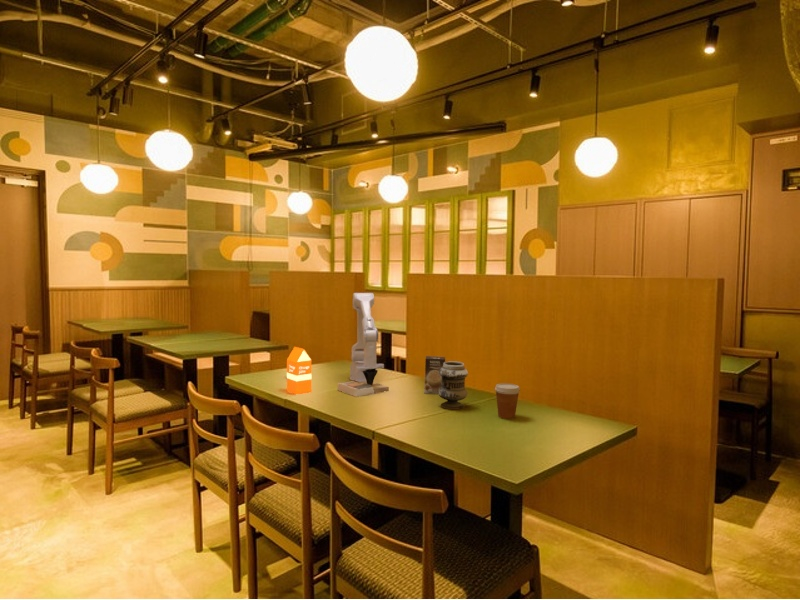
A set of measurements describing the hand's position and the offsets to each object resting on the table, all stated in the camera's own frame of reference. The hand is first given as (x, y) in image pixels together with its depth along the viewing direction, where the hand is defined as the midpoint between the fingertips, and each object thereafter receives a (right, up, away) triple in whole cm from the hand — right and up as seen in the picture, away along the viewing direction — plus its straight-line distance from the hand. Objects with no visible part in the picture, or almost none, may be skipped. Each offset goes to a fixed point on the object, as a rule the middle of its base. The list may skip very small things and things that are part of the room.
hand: (369, 385), depth 233 cm
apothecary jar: (+35, -5, -22) cm, 42 cm away
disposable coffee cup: (+55, -6, -35) cm, 65 cm away
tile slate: (-2, -2, -2) cm, 3 cm away
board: (+1, -2, +5) cm, 6 cm away
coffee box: (+29, -3, +1) cm, 30 cm away
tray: (-6, -3, -1) cm, 7 cm away
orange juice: (-32, -3, -1) cm, 32 cm away
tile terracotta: (-7, -2, +3) cm, 8 cm away
